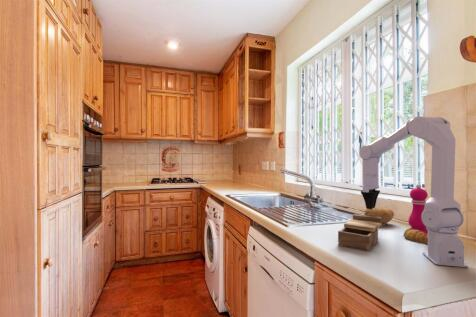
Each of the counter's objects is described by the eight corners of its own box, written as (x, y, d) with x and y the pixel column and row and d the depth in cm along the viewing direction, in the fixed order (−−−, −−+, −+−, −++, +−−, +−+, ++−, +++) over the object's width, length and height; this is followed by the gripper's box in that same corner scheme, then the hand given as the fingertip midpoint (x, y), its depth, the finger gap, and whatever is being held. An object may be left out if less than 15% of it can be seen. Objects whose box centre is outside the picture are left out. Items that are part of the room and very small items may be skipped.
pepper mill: (420, 236, 103) (419, 185, 103) (404, 231, 110) (403, 183, 110) (434, 235, 105) (434, 184, 105) (417, 230, 112) (417, 183, 112)
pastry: (438, 243, 95) (438, 232, 95) (426, 246, 93) (425, 235, 93) (413, 236, 104) (413, 226, 104) (401, 238, 101) (400, 228, 101)
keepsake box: (368, 251, 86) (368, 236, 86) (338, 245, 93) (338, 231, 93) (378, 242, 95) (377, 229, 95) (349, 237, 102) (349, 224, 102)
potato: (400, 226, 119) (400, 208, 119) (374, 228, 116) (374, 209, 116) (384, 221, 129) (384, 204, 129) (359, 222, 125) (359, 206, 126)
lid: (373, 231, 91) (373, 223, 91) (344, 227, 97) (343, 219, 97) (381, 225, 100) (381, 217, 100) (354, 221, 106) (354, 214, 106)
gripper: (364, 173, 115) (365, 204, 115) (354, 175, 104) (354, 209, 104) (383, 174, 110) (383, 206, 110) (373, 176, 99) (374, 212, 99)
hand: (370, 208), depth 107 cm, fingers open, 3 cm apart
